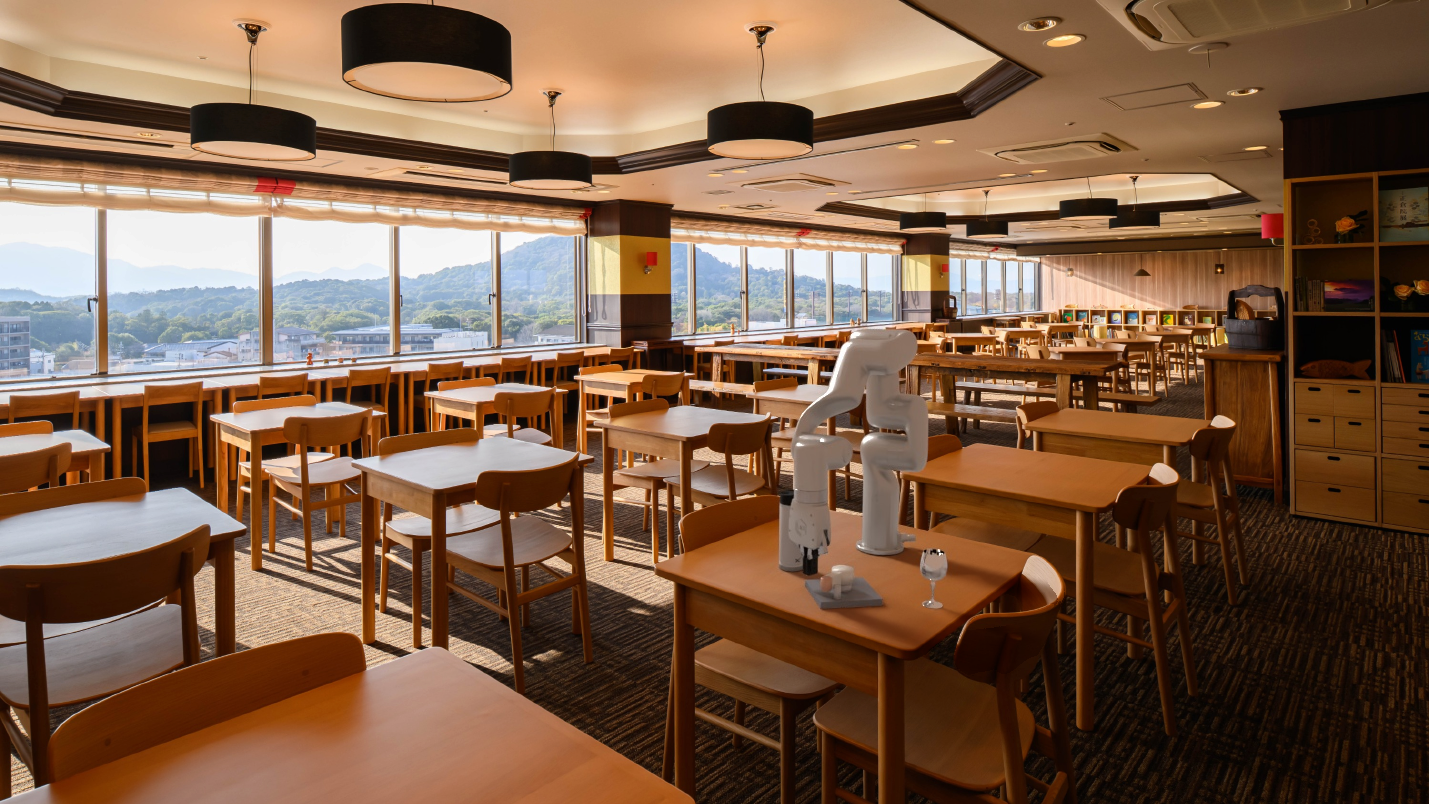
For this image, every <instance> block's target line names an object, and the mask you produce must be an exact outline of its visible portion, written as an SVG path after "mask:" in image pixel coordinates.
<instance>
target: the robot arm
mask: <svg viewBox="0 0 1429 804" xmlns="http://www.w3.org/2000/svg"><path fill="white" fill-rule="evenodd" d="M917 352H918V339H917V337H916V335H915V334H914V333H913V332H912V331H910V330H907V329H893V328H891V329H889V328H887V329H886V328H865V329H864V328H863V329H857V330H854V331H853V332H852V333H851V334H850V336H849V339H848V341H846V342H844V343H843V344H842V345H841V347H840V349H839V351H838V355H837V358H836V361H835V364H834V367H833V370H832V374H831V377H830V379H829V383H828V385H827V390H826V391H825V393H824V394H822V395H821V396H819V397H818V398H816V399H815V400H814V401H813V402H812V403H811V404H810V405H809V406H808V407H807V408H806V409H805V410H804V411H803V412H802V414H800V417H799V419H798V420H797V423H796V426H795V429H794V433H793V434H792V439H791V444H790V455H791V457H792V460H793V461H794V462H793V466H794V467H793V489H794V499H792V503H791V508H790V516H789V538H790V540H791V541H793V542H794V543H795V544H797V545H798V546H799V548H800V551H801V556H802V557H803V569H802V574H803V575H806V576H807V577H810V576H814V575H817V574H818V572H819V558H820V557H821V555H822V556H824V555H827V554H828V553H829V551H828V547H829V546H831V541H832V540H831V539H832V527H831V526H832V525H831V524H832V523H831V514H830V506H829V503H828V500H829V498H828V497H829V496H828V494H829V493H828V492H829V491H828V487H829V481H828V480H829V470H830V471H831V470H839V469H842V468H845V467H846V466H847V465H848V464H850V462H851V460H852V458H853V454H854V449H853V446H852V445H853V444H852V443H851V441H849V440H848V439H847V438H845V437H843V436H839V435H832V434H831V435H829V434H823V433H822V434H820V433H815V431H816V430H817V429H818V427H819V426H820V425H821V424H822V423H823V422H825V421H826V420H828V419H830V418H832V417H835V416H838V415H841V414H843V413H846V412H848V411H849V412H850V411H851V410H854V409H855V408H857V407H859V405H860V404H861V403H862V399H863V396H864V392H865V390H866V393H865V397H866V398H865V403H866V404H865V409H866V411H865V412H866V413H865V414H866V420H867V423H868V424H869V425H870V426H872V427H875V428H879V429H884V430H885V429H888V430H897V431H904V432H905V434H900V433H898V434H897V433H892V432H881V431H880V432H879V431H878V432H875V431H874V432H870V433H868V434H866V435H865V436H864V437H863V438H862V440H861V443H860V448H859V449H860V452H859V453H860V459H861V463H862V464H861V466H862V477H863V478H862V480H863V481H862V482H863V483H862V487H863V488H862V526H861V527H862V530H861V539H859V540H856V542H855V547H856V549H857V550H859V551H861V552H863V553H864V554H869V555H878V556H889V555H890V556H892V555H897V554H900V553H902V552H903V551H904V547H905V546H904V544H905V542H908V543H911V542H912V543H913V542H914V543H915V542H916V540H917V539H916V535H915V534H908V533H907V532H902V533H901V532H900V531H899V518H900V517H899V515H900V513H899V512H900V509H899V508H900V484H899V480H898V477H897V476H896V474H895V473H894V471H898V472H900V471H901V472H906V473H919V472H921V471H923V470H924V469H925V468H926V465H927V463H928V462H927V461H928V454H929V452H928V451H929V408H928V404H927V402H926V400H925V399H924V397H922V396H921V395H918V394H914V393H913V394H912V393H901V391H900V374H899V373H900V371H901V370H902V369H904V368H905V367H907V366H908V365H909V364H911V363H912V362H913V360H914V359H915V357H916V355H917Z"/></svg>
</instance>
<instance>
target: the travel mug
mask: <svg viewBox="0 0 1429 804" xmlns="http://www.w3.org/2000/svg"><path fill="white" fill-rule="evenodd" d="M792 499H794V488H793V489H786V490H783V491H781V493H779V517H778V518H779V522H778V523H779V528H778V529H779V531H778V532H779V534H778V535H779V536H778V537H779V539H778V541H779V542H778V543H779V545H778V547H779V548H778V560H779V561H778V568H779V569H780V570H782V571H785V572H793V573H794V572H800V571H803V557H802V556H801V551H800V548H799V546H798V545H797V544H795V543H794V542H793V541H791V540H790V538H789V516H790V508H791V503H792Z"/></svg>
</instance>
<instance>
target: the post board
mask: <svg viewBox="0 0 1429 804" xmlns="http://www.w3.org/2000/svg"><path fill="white" fill-rule="evenodd" d="M820 586H821V578H818V579H813V578H812V579H804V587H805V588H806V590H807V591H808V593H809V594H810V596H811V595H812V596H811V597H812V599H813V598H814V599H813V600H814V602H815V603H816V605H818V608H820V610H824V609H827V608H828V609H843V607H845V608H859V607H860V608H861V607H879V606H883V605H884V599H883V597H882V596H881V595H880V594H879V593H878V592H877V591H876V590H875V589H874V587H872V586H871V585H870V583H869V582H868V581H867V580H866V579H865V578H864V577H863V576H858V577H857V576H856V577H855V576H854V583H853V584H851V585H840V584H834V589H832V590H831V591H829V592H824V591H821V590H820ZM841 607H842V608H841Z"/></svg>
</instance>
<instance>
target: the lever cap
mask: <svg viewBox="0 0 1429 804" xmlns="http://www.w3.org/2000/svg"><path fill="white" fill-rule="evenodd" d="M854 577H855V568H854V567H852V566H851V565H846V564H845V565H844V564H837V565H833V566H832V567H831V572H828V573H827V574H825V575H822V576H820V579H821V586H820V590H821V591H824V592H829V591H831V590H832V589H834V584H840V585H851V584H853V583H854Z"/></svg>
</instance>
